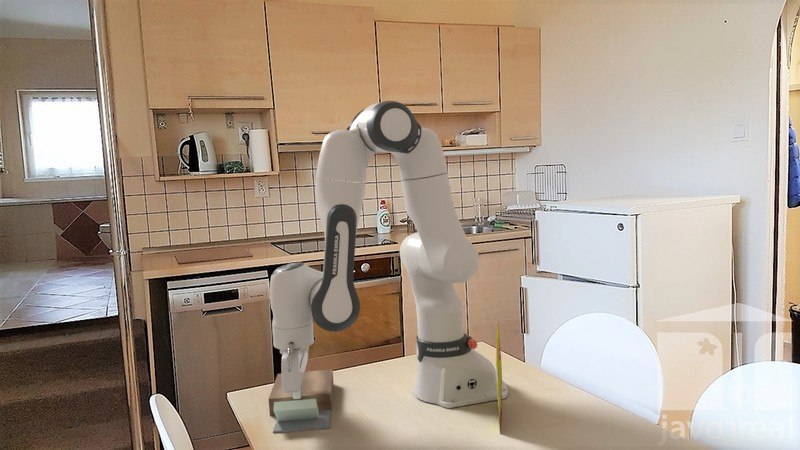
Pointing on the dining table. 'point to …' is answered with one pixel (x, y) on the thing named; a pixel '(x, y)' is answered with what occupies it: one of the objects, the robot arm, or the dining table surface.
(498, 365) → the food package
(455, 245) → the robot arm
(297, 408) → the mint green block
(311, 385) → the board
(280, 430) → the mat
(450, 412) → the dining table surface
